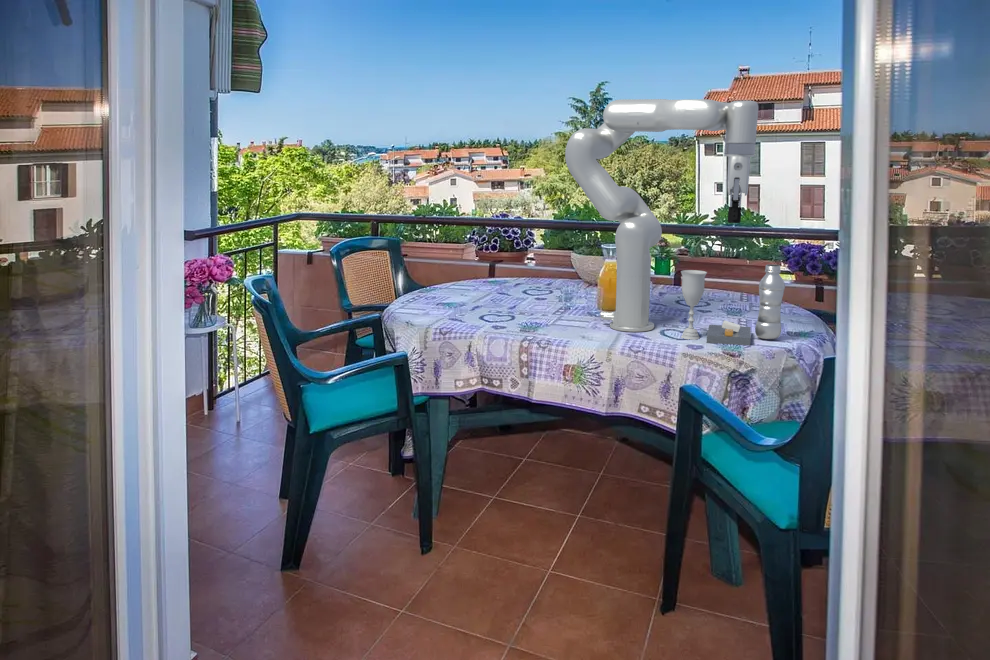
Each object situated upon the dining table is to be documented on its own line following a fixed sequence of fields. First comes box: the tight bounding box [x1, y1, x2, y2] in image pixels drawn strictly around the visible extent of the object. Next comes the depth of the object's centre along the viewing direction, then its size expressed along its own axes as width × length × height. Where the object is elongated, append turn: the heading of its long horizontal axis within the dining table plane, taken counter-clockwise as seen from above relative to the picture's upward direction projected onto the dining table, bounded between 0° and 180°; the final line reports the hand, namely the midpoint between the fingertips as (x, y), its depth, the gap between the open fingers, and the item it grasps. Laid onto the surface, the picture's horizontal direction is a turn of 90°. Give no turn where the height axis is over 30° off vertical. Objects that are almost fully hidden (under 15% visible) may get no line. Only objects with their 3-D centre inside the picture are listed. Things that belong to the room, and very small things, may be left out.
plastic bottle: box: [754, 263, 786, 340], centre depth 203 cm, size 6×7×20 cm
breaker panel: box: [706, 321, 752, 346], centre depth 206 cm, size 11×14×3 cm
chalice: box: [680, 269, 708, 341], centre depth 206 cm, size 7×7×18 cm
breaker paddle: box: [721, 319, 740, 332], centre depth 206 cm, size 4×3×1 cm
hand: (733, 222), depth 200 cm, fingers closed
